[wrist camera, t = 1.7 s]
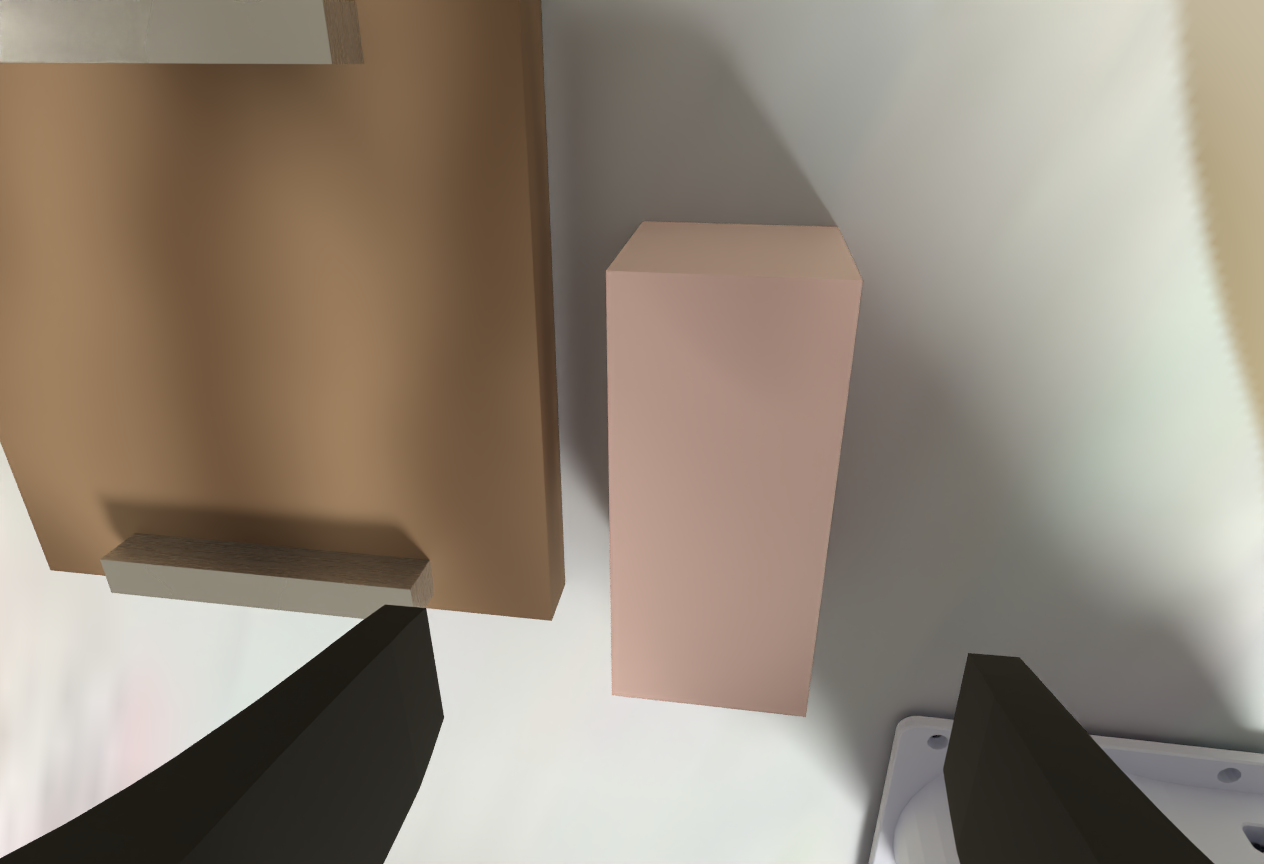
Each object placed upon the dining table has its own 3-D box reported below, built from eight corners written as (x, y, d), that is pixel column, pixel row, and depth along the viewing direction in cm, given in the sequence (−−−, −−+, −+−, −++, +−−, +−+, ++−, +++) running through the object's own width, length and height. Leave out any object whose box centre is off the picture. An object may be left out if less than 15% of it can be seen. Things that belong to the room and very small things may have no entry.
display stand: (539, -24, 15) (495, -42, 12) (565, 584, 21) (539, 653, 18) (-105, -17, 16) (-255, -31, 14) (92, 539, 22) (12, 597, 20)
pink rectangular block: (836, 224, 16) (863, 280, 12) (796, 583, 20) (805, 717, 16) (644, 219, 16) (605, 270, 12) (641, 569, 20) (611, 694, 16)
